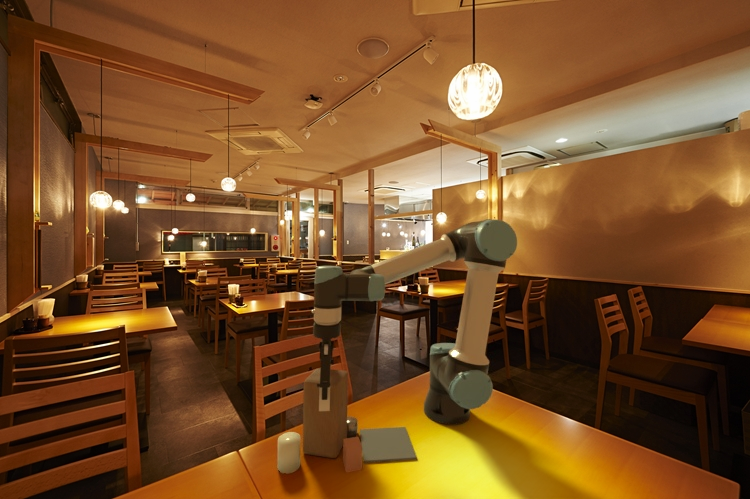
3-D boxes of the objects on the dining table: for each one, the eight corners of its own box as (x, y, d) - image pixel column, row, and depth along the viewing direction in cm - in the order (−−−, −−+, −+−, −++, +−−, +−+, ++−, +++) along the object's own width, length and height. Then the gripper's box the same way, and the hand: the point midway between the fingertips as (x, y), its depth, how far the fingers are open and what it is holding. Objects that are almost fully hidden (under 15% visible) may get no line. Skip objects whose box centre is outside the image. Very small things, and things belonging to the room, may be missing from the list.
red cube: (357, 459, 84) (358, 436, 84) (361, 469, 80) (362, 445, 80) (342, 461, 83) (343, 438, 83) (346, 472, 79) (346, 448, 79)
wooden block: (337, 460, 83) (338, 384, 83) (301, 454, 85) (302, 380, 85) (347, 437, 93) (348, 369, 93) (315, 433, 95) (316, 366, 95)
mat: (405, 428, 98) (405, 426, 98) (416, 459, 84) (416, 457, 84) (359, 431, 96) (359, 429, 96) (363, 463, 82) (363, 460, 82)
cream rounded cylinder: (301, 457, 84) (301, 431, 84) (298, 472, 79) (299, 444, 78) (279, 459, 83) (279, 432, 83) (275, 474, 78) (275, 446, 78)
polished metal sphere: (356, 429, 97) (357, 416, 97) (357, 438, 93) (358, 424, 93) (342, 430, 97) (342, 417, 97) (342, 439, 92) (342, 425, 92)
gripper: (316, 312, 100) (314, 379, 101) (309, 334, 76) (307, 423, 76) (340, 312, 101) (338, 378, 102) (341, 334, 77) (339, 422, 77)
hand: (325, 397), depth 89 cm, fingers open, 13 cm apart
